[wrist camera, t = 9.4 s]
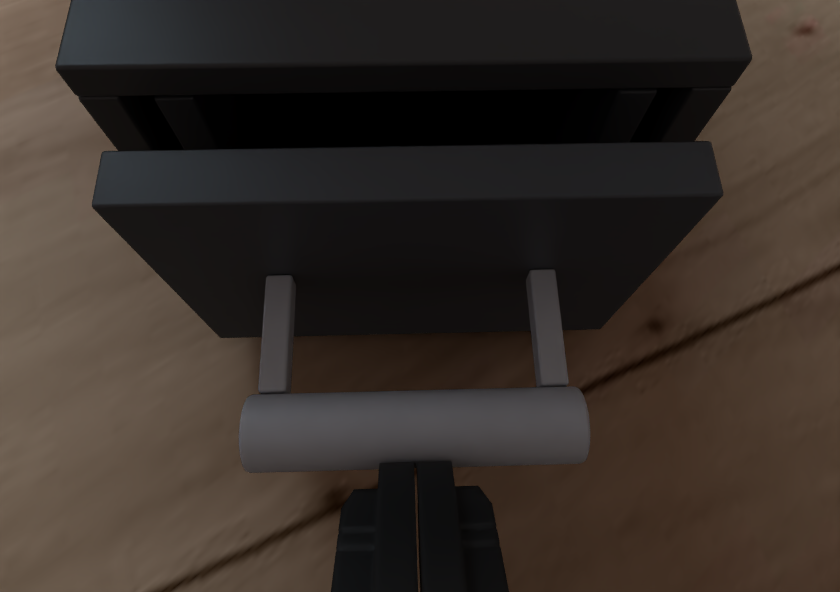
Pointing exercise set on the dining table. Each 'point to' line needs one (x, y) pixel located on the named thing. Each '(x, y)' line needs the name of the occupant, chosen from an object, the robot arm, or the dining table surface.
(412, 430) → the drawer
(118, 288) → the dining table surface
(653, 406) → the dining table surface
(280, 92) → the cabinet
